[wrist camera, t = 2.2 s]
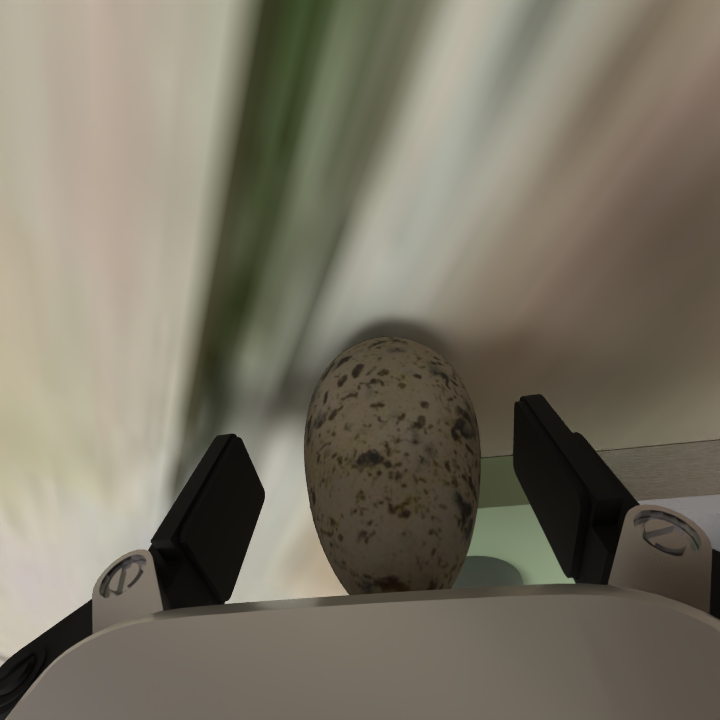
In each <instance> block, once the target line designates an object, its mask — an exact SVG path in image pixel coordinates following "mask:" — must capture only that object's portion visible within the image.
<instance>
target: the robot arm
mask: <svg viewBox="0 0 720 720" xmlns="http://www.w3.org/2000/svg"><path fill="white" fill-rule="evenodd" d="M513 467H514V471H515V474H516V476H517V478H518V481H519V483H520V485H521V487H522V489H523V491H524V493H525V495H526V497H527V499H528V501H529V503H530V505H531V507H532V509H533V511H534V513H535V515H536V517H537V519H538V522H539V524H540V526H541V528H542V530H543V532H544V534H545V536H546V538H547V540H548V542H549V544H550V546H551V548H552V550H553V552H554V554H555V556H556V558H557V561H558V563H559V565H560V567H561V569H562V571H563V573H564V574H565V576H566V577H567V578H573V579H574V581H575V583H576V584H533V585H510V586H489V587H473V588H456V589H440V590H423V591H407V592H392V593H376V594H361V595H346V596H331V597H316V598H302V599H288V600H274V601H260V602H246V603H233V604H225V601H228V600H229V599H230V597H231V595H232V592H233V589H234V586H235V584H236V581H237V578H238V575H239V572H240V569H241V566H242V563H243V561H244V558H245V555H246V552H247V549H248V546H249V543H250V540H251V537H252V535H253V532H254V529H255V526H256V523H257V520H258V517H259V514H260V511H261V509H262V506H263V503H264V499H265V491H264V488H263V486H262V484H261V482H260V479H259V477H258V475H257V473H256V470H255V468H254V466H253V464H252V461H251V459H250V457H249V454H248V452H247V450H246V448H245V445H244V443H243V441H242V439H241V438H240V437H237V436H236V435H235V434H226V435H218V436H216V438H215V439H214V440H213V442H212V444H211V445H210V447H209V448H208V450H207V452H206V453H205V455H204V456H203V458H202V460H201V461H200V463H199V464H198V466H197V468H196V469H195V471H194V472H193V474H192V476H191V477H190V479H189V480H188V482H187V484H186V485H185V487H184V488H183V490H182V492H181V493H180V495H179V496H178V498H177V500H176V501H175V503H174V504H173V506H172V508H171V509H170V511H169V512H168V514H167V516H166V517H165V519H164V520H163V522H162V524H161V525H160V527H159V528H158V530H157V531H156V533H155V535H154V536H153V538H152V539H151V543H152V545H151V546H150V548H149V550H148V551H147V550H135V551H131V552H129V553H127V554H125V555H123V556H121V557H120V558H118V559H117V560H116V561H114V562H113V563H112V564H111V565H110V566H109V567H108V568H107V569H106V570H105V571H104V572H103V573H102V574H101V576H100V577H99V578H98V580H97V582H96V584H95V586H94V588H93V594H92V599H91V600H90V601H88V602H87V603H86V604H84V605H83V606H81V607H80V608H79V609H77V610H76V611H74V612H73V613H71V614H70V615H69V616H67V617H66V618H64V619H63V620H62V621H60V622H59V623H57V624H56V625H54V626H53V627H52V628H50V629H49V630H47V631H46V632H45V633H43V634H42V635H40V636H39V637H38V638H36V639H35V640H33V641H32V642H30V643H29V644H28V645H26V646H25V647H23V648H22V649H21V650H19V651H18V652H17V653H15V654H14V655H13V656H12V657H10V658H9V659H8V660H7V661H6V662H5V663H4V664H3V665H2V666H1V667H0V720H720V552H719V551H717V550H715V549H712V546H711V542H710V540H709V538H708V537H707V535H706V534H705V532H704V531H703V530H702V529H701V528H700V527H699V526H698V525H697V524H696V523H695V522H693V521H692V520H690V519H689V518H687V517H686V516H684V515H683V514H681V513H678V512H676V511H674V510H672V509H669V508H665V507H662V506H658V505H648V504H644V505H640V504H639V503H638V502H637V501H636V499H635V498H634V497H633V496H632V495H631V493H630V492H629V491H628V490H627V488H626V487H625V486H624V485H623V484H622V482H621V481H620V480H619V479H618V478H617V476H616V475H615V474H614V473H613V472H612V470H611V469H610V468H609V467H608V466H607V464H606V463H605V462H604V461H603V460H602V458H601V457H600V456H599V455H598V454H597V452H596V451H595V450H594V449H593V447H592V446H591V445H590V444H589V443H588V441H587V440H586V439H585V438H584V437H583V436H582V435H581V434H580V433H577V432H575V433H572V432H571V431H570V430H569V428H568V427H567V426H566V425H565V423H564V422H563V421H562V420H561V418H560V417H559V416H558V415H557V413H556V412H555V411H554V410H553V408H552V407H551V406H550V405H549V403H548V402H547V401H546V399H545V398H544V397H543V396H542V395H541V394H537V395H529V396H522V397H521V398H520V401H518V402H515V406H514V444H513Z"/></svg>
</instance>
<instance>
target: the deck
mask: <svg viewBox="0 0 720 720" xmlns="http://www.w3.org/2000/svg"><path fill="white" fill-rule="evenodd" d="M533 584H576V583H575V581H574V579H573V578H567V577H566V576H565V574H564V573H563V571H562V569H561V567H560V565H559V563H558V561H557V558H556V556H555V554H554V552H553V550H552V548H551V546H550V544H549V542H548V540H547V538H546V536H545V534H544V532H543V530H542V528H541V526H540V524H539V522H538V519H537V517H536V515H535V513H534V511H533V509H532V507H531V505H530V503H529V501H528V499H527V497H526V495H525V493H524V491H523V489H522V487H521V485H520V483H519V481H518V478H517V476H516V474H515V471H514V467H513V455H512V456H502V457H492V458H481V476H480V491H479V501H478V509H477V515H476V522H475V527H474V531H473V536H472V540H471V543H470V547H469V550H468V553H467V556H466V559H465V561H464V564H463V566H462V568H461V571H460V573H459V575H458V577H457V579H456V581H455V583H454V585H453V586H452V587H451V589H456V588H473V587H489V586H510V585H533Z"/></svg>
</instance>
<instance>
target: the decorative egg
mask: <svg viewBox="0 0 720 720" xmlns="http://www.w3.org/2000/svg"><path fill="white" fill-rule="evenodd" d="M304 462H305V474H306V482H307V489H308V495H309V502H310V508H311V512H312V516H313V521H314V524H315V528H316V531H317V534H318V537H319V540H320V543H321V545H322V548H323V550H324V552H325V555H326V557H327V559H328V561H329V563H330V565H331V567H332V569H333V571H334V573H335V575H336V576H337V578H338V580H339V581H340V583H341V584H342V586H343V587H344V588H345V590H346V591H347V593H348V594H349V595H361V594H376V593H392V592H407V591H423V590H440V589H451V587H452V586H453V585H454V583H455V581H456V579H457V577H458V575H459V573H460V571H461V568H462V566H463V564H464V561H465V559H466V556H467V553H468V550H469V547H470V543H471V540H472V536H473V531H474V527H475V522H476V515H477V509H478V501H479V491H480V476H481V450H480V439H479V431H478V426H477V420H476V416H475V412H474V409H473V405H472V403H471V400H470V397H469V395H468V392H467V390H466V388H465V386H464V384H463V383H462V381H461V379H460V378H459V376H458V374H457V373H456V372H455V370H454V369H453V368H452V367H451V365H450V364H449V363H448V362H447V361H446V360H445V359H444V358H442V357H441V356H440V355H439V354H437V353H436V352H435V351H433V350H432V349H430V348H429V347H427V346H425V345H423V344H421V343H419V342H416V341H413V340H410V339H405V338H400V337H379V338H373V339H369V340H366V341H363V342H360V343H358V344H356V345H354V346H352V347H350V348H349V349H347V350H346V351H344V352H343V353H342V354H340V355H339V356H338V357H337V358H336V359H335V360H334V361H333V362H332V363H331V364H330V365H329V367H328V368H327V369H326V371H325V372H324V374H323V375H322V377H321V378H320V380H319V382H318V384H317V386H316V388H315V390H314V393H313V396H312V399H311V402H310V405H309V409H308V414H307V419H306V426H305V436H304Z"/></svg>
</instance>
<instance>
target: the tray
mask: <svg viewBox="0 0 720 720" xmlns="http://www.w3.org/2000/svg"><path fill="white" fill-rule="evenodd" d="M597 454H598V455H599V456H600V457H601V458H602V460H603V461H604V462H605V463H606V464H607V466H608V467H609V468H610V469H611V470H612V472H613V473H614V474H615V475H616V476H617V478H618V479H619V480H620V481H621V482H622V484H623V485H624V486H625V487H626V488H627V490H628V491H629V492H630V493H631V495H632V496H633V497H634V498H635V499H636V501H637V502H638V503H639V504H640V505H644V504H648V505H658V506H662V507H665V508H669V509H672V510H674V511H676V512H678V513H681V514H683V515H684V516H686V517H687V518H689V519H690V520H692V521H693V522H695V523H696V524H697V525H698V526H699V527H700V528H701V529H702V530H703V531H704V532H705V534H706V535H707V537H708V538H709V540H710V542H711V546H712V549H715V550H717V551H719V552H720V440H716V441H705V442H695V443H684V444H674V445H663V446H652V447H642V448H631V449H621V450H610V451H600V452H597Z"/></svg>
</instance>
